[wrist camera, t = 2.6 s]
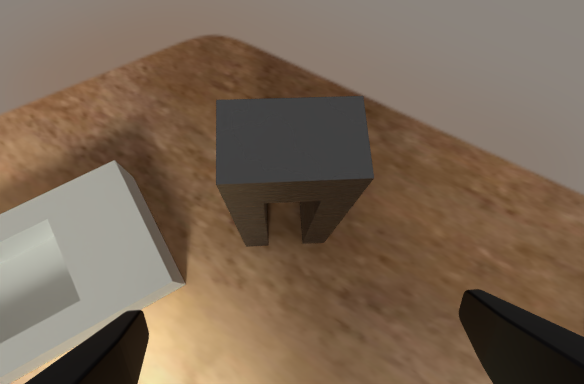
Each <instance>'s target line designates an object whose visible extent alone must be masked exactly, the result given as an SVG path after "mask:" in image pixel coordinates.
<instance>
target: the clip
mask: <svg viewBox="0 0 584 384" xmlns="http://www.w3.org/2000/svg"><path fill="white" fill-rule="evenodd" d="M373 179H374V174H373V167H372V159H371V152H370V144H369V136H368V129H367V121H366V114H365V106H364V99H363V96H346V97H309V98H272V99H234V100H216V185H217V187H218V189H219V192H220V194H221V196H222V198H223V200H224V202H225V204H226V206H227V208H228V210H229V212H230V214H231V216H232V218H233V220H234V222H235V225H236V227H237V229H238V231H239V233H240V235H241V237H242V239H243V241H244V243H245V245H246V247H247V246H267V245H268V227H267V203H282V202H300V214H301V229H302V244H306V243H324V242H325V241H326V239H327V238H328V237H329V236H330V234H331V233H332V232H333V230H334V229H335V228H336V227H337V225H338V224H339V223H340V221H341V220H342V219H343V218H344V216H345V215H346V214H347V212H348V211H349V210H350V209H351V207H352V206H353V205H354V203H355V202H356V201H357V199H358V198H359V197H360V196H361V194H362V193H363V192H364V190H365V189H366V188H367V187H368V185H369V184H370V183H371V181H372V180H373Z"/></svg>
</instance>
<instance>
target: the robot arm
mask: <svg viewBox="0 0 584 384" xmlns="http://www.w3.org/2000/svg"><path fill="white" fill-rule="evenodd" d="M459 318H460V321H461V323H462V325H463V327H464V329H465V332H466V334H467V336H468V338H469V340H470V342H471V344H472V346H473V348H474V350H475V352H476V354H477V356H478V358H479V360H480V362H481V364H482V366H483V368H484V369H485V371H486V373H487V374H488V376H489V378H490V379H491V381H492V382H493V384H584V337H583V336H580V335H578V334H576V333H574V332H572V331H570V330H567V329H565V328H563V327H561V326H559V325H556V324H554V323H552V322H550V321H548V320H546V319H543V318H541V317H539V316H537V315H535V314H532V313H530V312H528V311H526V310H524V309H522V308H519V307H517V306H515V305H513V304H511V303H509V302H506V301H504V300H502V299H500V298H498V297H495V296H493V295H491V294H489V293H487V292H485V291H482V290H479V289H474V290H466V291H465V292H464V294H463V298H462V301H461V305H460V308H459ZM148 339H149V331H148V327H147V324H146V320H145V317H144V313H143V311H141V310H128V311H126V312H124V313H123V314H121V315H120V316H118V317H117V318H116V319H114V320H113V321H111V322H110V323H109V324H107V325H106V326H104V327H103V328H102V329H100V330H99V331H97V332H96V333H95V334H93V335H92V336H90V337H89V338H88V339H86V340H85V341H83V342H82V343H81V344H79V345H78V346H76V347H75V348H74V349H72V350H71V351H70V352H68V353H67V354H65V355H64V356H63V357H61V358H60V359H58V360H57V361H56V362H54V363H53V364H51V365H50V366H49V367H47V368H46V369H44V370H43V371H42V372H40V373H39V374H37V375H36V376H35V377H33V378H32V379H30V380H29V381H28V382H26V383H25V384H138V380H139V376H140V372H141V368H142V364H143V360H144V356H145V352H146V348H147V344H148Z"/></svg>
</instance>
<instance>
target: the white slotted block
mask: <svg viewBox="0 0 584 384" xmlns="http://www.w3.org/2000/svg"><path fill="white" fill-rule="evenodd" d="M184 285H186V284H185V282H184V280H183V278H182V276H181V274H180V272H179V270H178V268H177V266H176V264H175V262H174V260H173V257H172V255H171V253H170V251H169V249H168V247H167V245H166V243H165V241H164V239H163V237H162V235H161V233H160V231H159V229H158V227H157V225H156V223H155V220H154V218H153V216H152V214H151V212H150V210H149V208H148V206H147V204H146V202H145V200H144V198H143V196H142V194H141V192H140V190H139V188H138V186H137V183H136V181H135V179H134V177H133V176H132V175H130V174H129V173H128V172H127V171H126V170H125V169H124V168H123V167H122V166H121V165H119V164H118V163H117V162H116V161H115V160H114V161H111V162H109V163H107V164H105V165H103V166H101V167H99V168H97V169H95V170H92V171H90V172H88V173H86V174H84V175H82V176H80V177H78V178H76V179H73V180H71V181H69V182H67V183H65V184H63V185H61V186H59V187H57V188H55V189H52V190H50V191H48V192H46V193H44V194H42V195H40V196H38V197H36V198H33V199H31V200H29V201H27V202H25V203H23V204H21V205H19V206H17V207H14V208H12V209H10V210H8V211H6V212H4V213H2V214H0V384H10V383H12V382H13V381H15V380H17V379H19V378H21V377H22V376H24V375H26V374H28V373H29V372H31V371H33V370H35V369H37V368H38V367H40V366H42V365H44V364H45V363H47V362H49V361H51V360H53V359H54V358H56V357H58V356H60V355H61V354H63V353H65V352H67V351H69V350H70V349H72V348H74V347H76V346H77V345H79V344H81V343H82V342H83V341H85V340H86V339H88V338H89V337H90V336H92V335H93V334H95V333H96V332H97V331H99V330H100V329H102V328H103V327H104V326H106V325H107V324H109V323H110V322H111V321H113V320H114V319H116V318H117V317H118V316H120V315H121V314H123V313H124V312H126V311H128V310H141V309H143V308H145V307H147V306H149V305H150V304H152V303H154V302H156V301H157V300H159V299H161V298H163V297H165V296H166V295H168V294H170V293H172V292H173V291H175V290H177V289H179V288H181V287H182V286H184Z"/></svg>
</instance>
